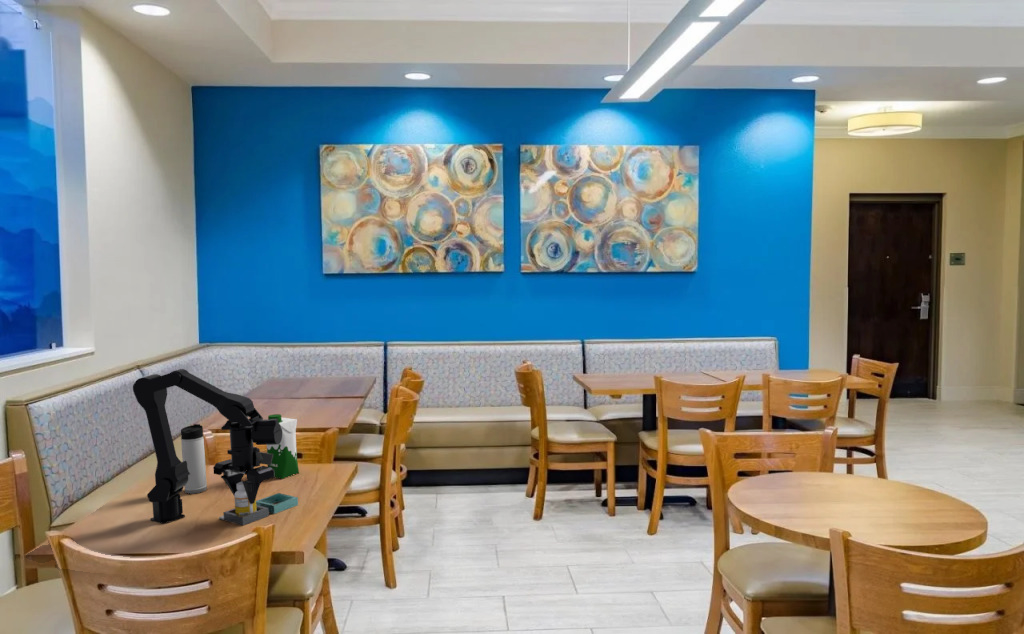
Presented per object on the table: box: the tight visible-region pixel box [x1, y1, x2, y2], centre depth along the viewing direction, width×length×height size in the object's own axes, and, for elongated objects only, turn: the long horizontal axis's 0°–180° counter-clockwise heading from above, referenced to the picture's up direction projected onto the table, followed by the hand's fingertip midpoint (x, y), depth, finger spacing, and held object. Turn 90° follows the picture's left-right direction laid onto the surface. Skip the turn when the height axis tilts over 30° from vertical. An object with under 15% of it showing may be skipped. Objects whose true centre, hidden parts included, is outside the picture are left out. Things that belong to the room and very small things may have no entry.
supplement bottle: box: [233, 481, 257, 516], centre depth 196 cm, size 5×5×10 cm
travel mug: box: [180, 423, 208, 495], centre depth 221 cm, size 6×7×20 cm
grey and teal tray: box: [218, 492, 299, 526], centre depth 201 cm, size 18×10×2 cm, turn 147°
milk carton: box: [266, 413, 300, 480], centre depth 235 cm, size 9×9×20 cm
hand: (245, 501), depth 196 cm, fingers closed on supplement bottle, 5 cm apart
